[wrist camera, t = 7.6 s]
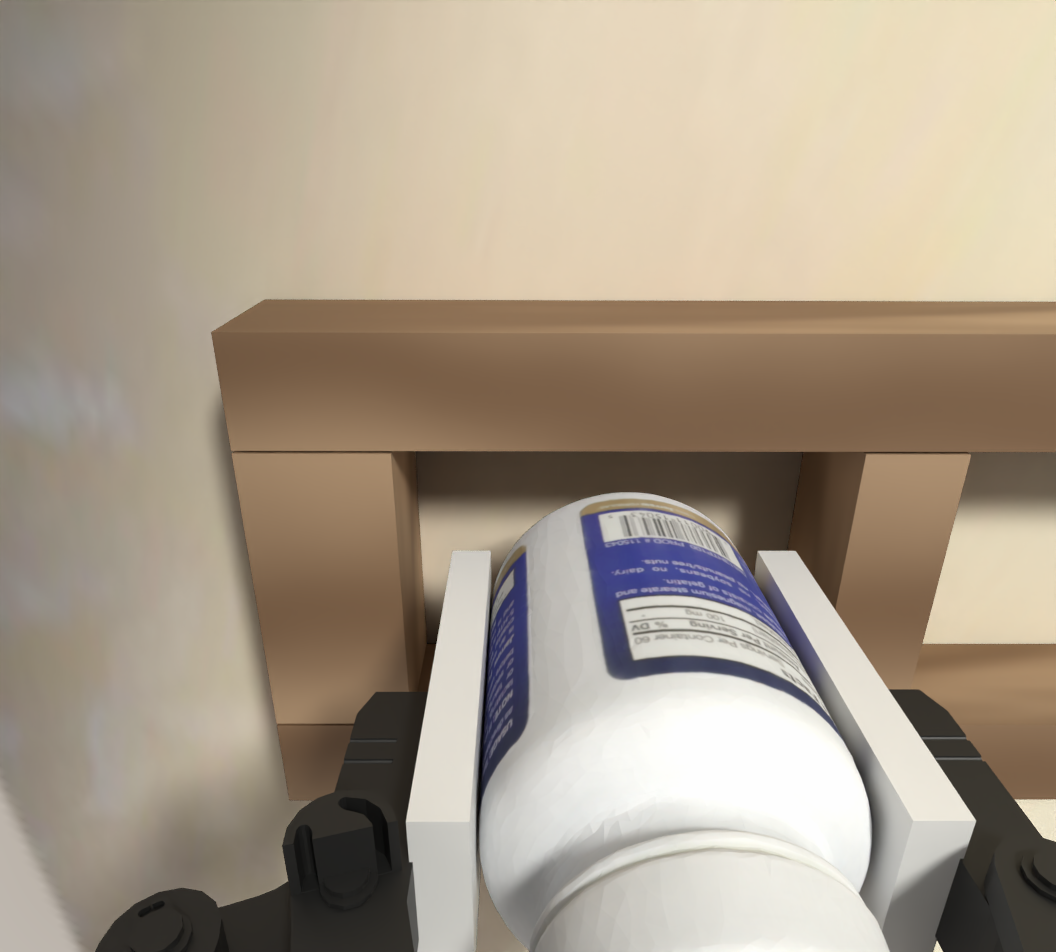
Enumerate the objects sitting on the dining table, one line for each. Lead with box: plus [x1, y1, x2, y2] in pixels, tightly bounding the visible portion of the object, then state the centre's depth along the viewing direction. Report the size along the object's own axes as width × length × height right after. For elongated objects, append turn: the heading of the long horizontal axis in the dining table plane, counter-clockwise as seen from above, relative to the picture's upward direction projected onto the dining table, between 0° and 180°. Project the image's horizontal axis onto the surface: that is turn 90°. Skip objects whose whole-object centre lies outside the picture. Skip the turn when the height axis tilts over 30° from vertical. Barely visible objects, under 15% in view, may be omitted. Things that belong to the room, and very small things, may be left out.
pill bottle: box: [479, 492, 890, 952], centre depth 12 cm, size 5×5×9 cm
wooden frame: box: [211, 300, 1056, 800], centre depth 17 cm, size 11×26×3 cm, turn 90°
